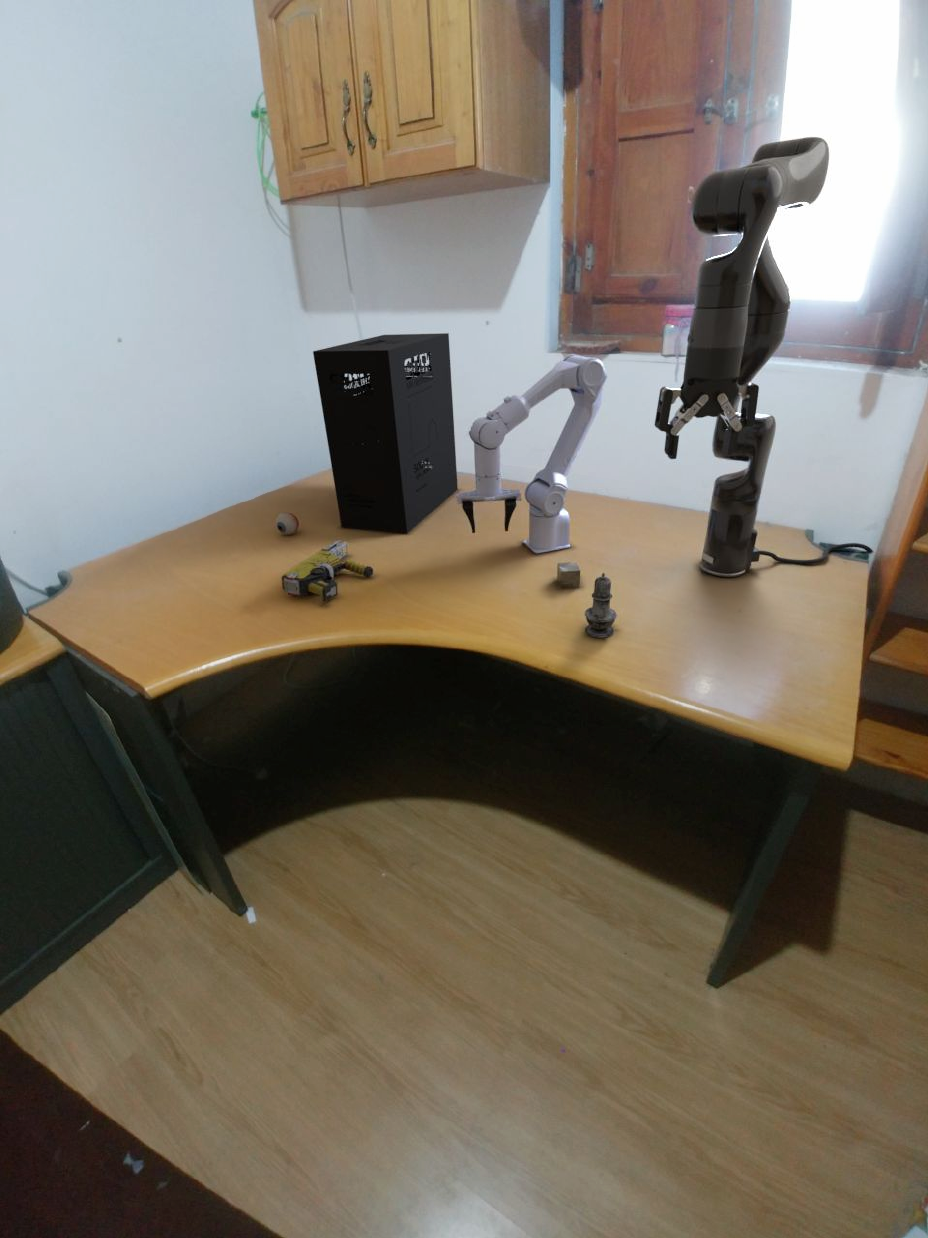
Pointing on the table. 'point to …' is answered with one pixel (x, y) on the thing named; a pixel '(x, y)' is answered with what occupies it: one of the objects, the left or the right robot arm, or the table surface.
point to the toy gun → (321, 572)
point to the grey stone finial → (600, 610)
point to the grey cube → (568, 575)
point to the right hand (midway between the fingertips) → (699, 456)
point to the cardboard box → (389, 428)
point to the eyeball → (287, 523)
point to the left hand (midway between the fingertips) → (490, 530)
